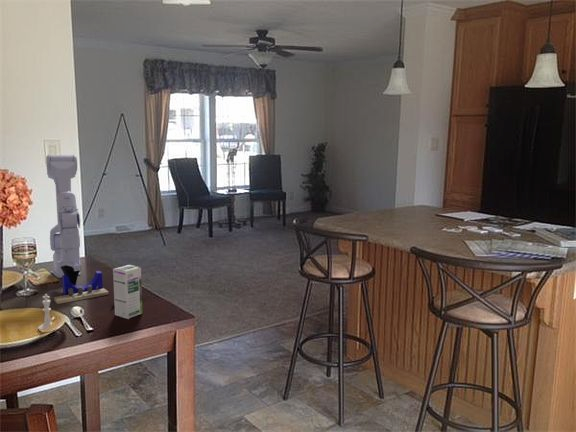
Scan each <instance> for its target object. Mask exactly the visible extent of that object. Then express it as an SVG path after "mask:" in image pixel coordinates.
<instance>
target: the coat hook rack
mask: <svg viewBox="0 0 576 432" xmlns="http://www.w3.org/2000/svg"><path fill="white" fill-rule="evenodd" d="M109 294H110V293H109V291H108V290H107V289H106V288H103V289H98V290H92V285H88V286H87V292H83V287H78V293H75V294H73V289H72V288H70V289H68V295H64V294H63V295H60V296H54V297H53V301H54V302H55V303H56V304H57V305H59V304H64V303H70V302H75V301H79V300H80V301H81V300H85V299H92V298H96V297H98V298H99V297H102V296H103V297H104V296H107V295H109Z"/></svg>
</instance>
